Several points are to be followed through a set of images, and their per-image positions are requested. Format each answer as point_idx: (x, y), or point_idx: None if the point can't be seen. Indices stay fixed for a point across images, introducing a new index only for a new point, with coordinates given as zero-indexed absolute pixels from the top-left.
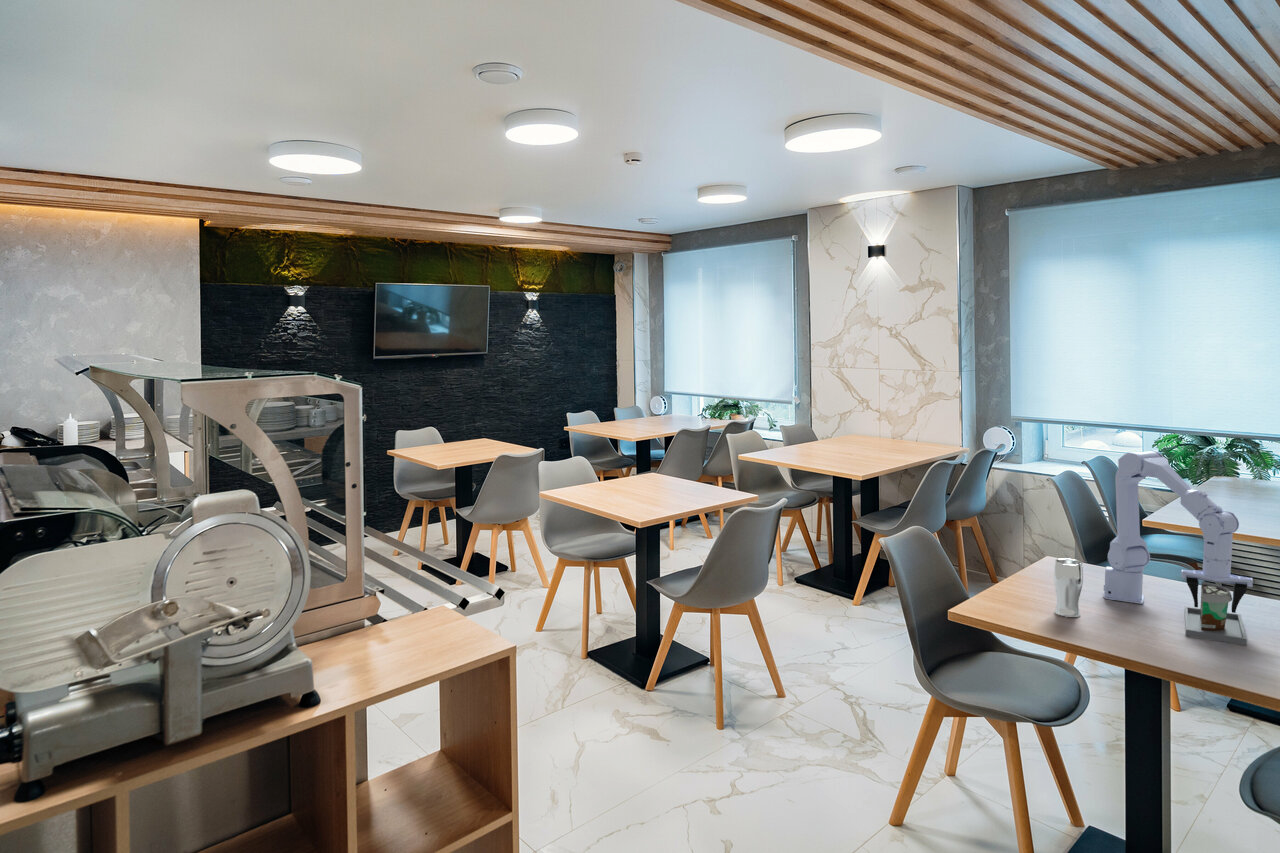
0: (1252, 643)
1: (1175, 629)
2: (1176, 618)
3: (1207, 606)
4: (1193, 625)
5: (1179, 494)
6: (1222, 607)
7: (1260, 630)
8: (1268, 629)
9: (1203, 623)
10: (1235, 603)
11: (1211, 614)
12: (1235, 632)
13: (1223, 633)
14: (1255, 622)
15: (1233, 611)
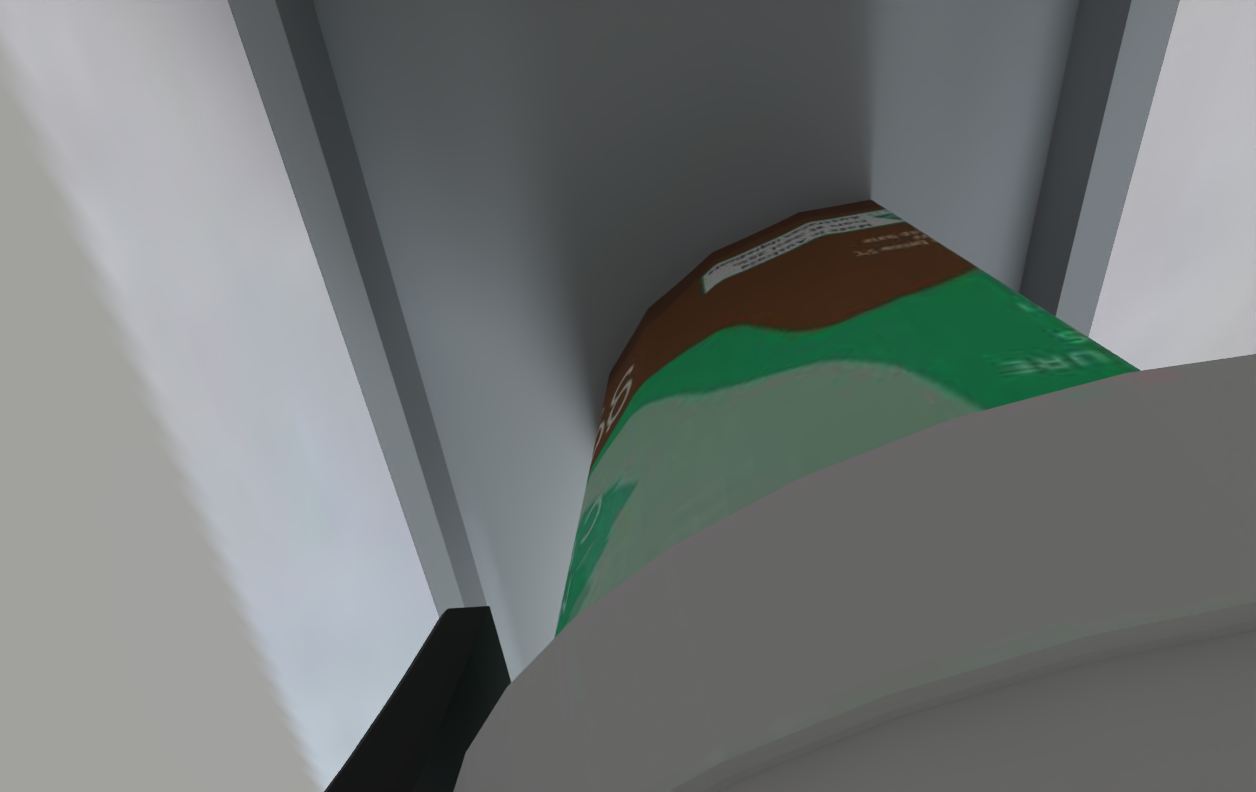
0: (219, 66)
1: (1230, 55)
2: None
3: (990, 377)
4: None
5: None
6: (621, 552)
7: (312, 597)
8: (271, 652)
9: (882, 229)
10: (381, 774)
11: (813, 328)
12: (475, 359)
13: (595, 224)
14: None
15: (462, 620)
